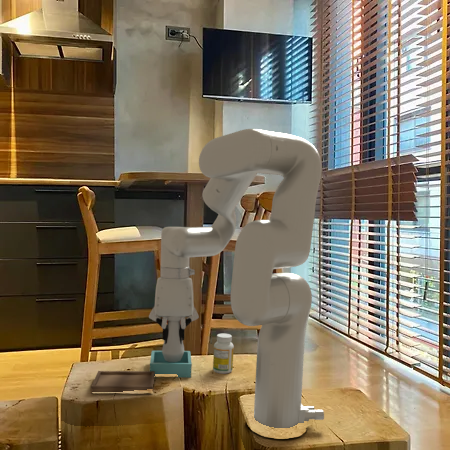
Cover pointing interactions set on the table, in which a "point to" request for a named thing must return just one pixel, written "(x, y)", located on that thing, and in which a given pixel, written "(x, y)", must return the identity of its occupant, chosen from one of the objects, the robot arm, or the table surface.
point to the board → (123, 381)
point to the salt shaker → (173, 341)
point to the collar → (171, 364)
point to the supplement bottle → (223, 354)
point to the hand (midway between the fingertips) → (173, 342)
